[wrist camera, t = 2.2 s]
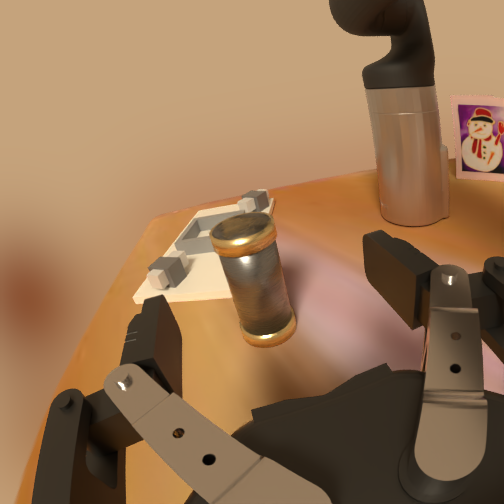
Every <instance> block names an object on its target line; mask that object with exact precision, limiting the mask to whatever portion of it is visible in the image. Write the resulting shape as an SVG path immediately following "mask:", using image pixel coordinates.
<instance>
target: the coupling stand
mask: <svg viewBox="0 0 504 504" xmlns="http://www.w3.org/2000/svg"><path fill="white" fill-rule="evenodd" d="M274 204H275V202H274V198H270V199H269V194H268V190H267V189H259V190H257V191H250V192H248V193H246V194H244V195H243V196H242V200H240V201H238V204H234V205H228V206H222V207H217V208H211V209H206V210H200V211H198V212H197V214H196V215H195V216H194V217H193V219H192V220H191V221H190V222H189V224H188V225H187V226H186V227H185V229H184V230H183V231H182V232H181V234H180V235H179V236H178V238H177V239H176V240H175V241H174V243H173V244H172V245H171V247H170V248H169V249H168V250H167V252H166V253H165V254H164V256H163V257H159V258H158V259H157V260H156V261H155V262H154V263H153V264H151V265H150V266H149V267H148V269H149V271H150V272H149V273H148V274H147V278H146V280H145V281H144V282H143V284H142V285H141V287H140V288H139V289H138V291H137V292H136V293H135V295H134V296H133V299H134V301H135V303H136V304H143V302H144V300H145V299H147V298H151V297H154V296H158V295H161V294H163V295H164V296H165V298H166V300H167V302H181V301H196V300H210V299H223V298H232V295H231V292H230V289H229V286H228V283H227V280H226V277H225V274H224V271H223V268H222V265H221V261H220V258H219V255H218V254H216V253H215V251H214V249H213V246H212V243H211V240H210V236H209V232H210V230H211V229H212V228H213V227H214V226H215V225H216V224H218V223H219V222H221V221H223V220H225V219H227V218H230V217H232V216H235V215H239V214H243V213H249V212H265V213H268V214H270V215H272V211H273V208H274Z"/></svg>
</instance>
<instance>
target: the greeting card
mask: <svg viewBox="0 0 504 504" xmlns="http://www.w3.org/2000/svg"><path fill="white" fill-rule="evenodd" d="M451 104H452V113H453V122H454V136H455V152H456V179H473V180H488V181H501V182H504V98H494V97H493V95H454V96H453V95H451Z"/></svg>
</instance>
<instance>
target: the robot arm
mask: <svg viewBox="0 0 504 504" xmlns="http://www.w3.org/2000/svg"><path fill="white" fill-rule="evenodd" d="M329 5H330V10H331V13H332V15H333V18H334V20H335V21H336V23H337V24H338V25H339V26H340V27H341V28H342V29H343V30H345V31H346V32H348V33H350V34H354V35H358V36H391V44H392V46H391V50H390V52H389V53H388V54H387V55H386V56H385V57H383V58H382V59H380V60H378V61H376V62H374V63H372V64H370V65H368V66H366V67H365V68H364V69H363V71H362V76H363V81H364V86H365V88H366V89H365V92H366V97H367V103H368V109H369V114H370V120H371V126H372V133H373V140H374V148H375V155H376V163H377V172H378V182H379V192H380V204H381V214H382V216H383V217H384V218H385V219H386V220H387V221H390V222H392V223H395V224H398V225H404V226H423V225H428V224H432V223H435V222H437V221H438V220H440V219H442V218H446V217H449V163H448V149H447V147H446V146H445V145H443V144H442V138H441V127H440V119H439V110H438V102H437V95H436V88H435V86H434V85H435V81H434V65H435V56H434V50H433V43H432V38H431V33H430V27H429V22H428V17H427V13H426V8H425V5H424V1H423V0H329ZM363 253H364V267H365V273H366V277H367V279H368V281H369V283H370V284H371V285H372V286H373V287H374V288H375V289H376V290H377V291H378V292H379V294H380V295H381V296H382V297H383V298H384V299H385V300H386V301H387V302H388V303H389V305H390V306H391V307H392V308H393V309H394V310H395V311H396V312H397V314H398V315H399V316H400V317H401V318H402V319H403V320H404V321H405V323H406V324H407V325H408V326H409V327H410V328H411V329H412V330H414V329H416V328H418V327H420V326H422V325H423V326H424V327H425V332H424V342H423V352H422V360H421V368H420V371H417V370H398V371H391V369H390V368H389V366H388V365H387V363H385V364H382V365H380V366H378V367H375V368H373V369H370V370H368V371H366V372H363V373H361V374H358V375H356V376H354V377H353V378H351V379H350V380H348V381H346V382H345V383H343V384H342V385H340V386H339V387H337V388H336V389H334V390H332V391H331V392H329V393H327V394H325V395H322V396H315V397H307V398H299V399H289V400H284V401H281V402H277V403H274V404H270V405H267V406H263V407H260V408H256V409H252V410H251V411H252V416H253V420H252V421H250V422H248V423H246V424H245V425H243V426H242V427H240V428H239V429H238V430H236V431H235V432H234V433H233V434H232V435H231V436H230V435H229V434H227V433H226V432H224V431H223V430H222V429H220V428H219V427H218V426H216V425H215V424H214V423H212V422H211V421H210V420H208V419H207V418H206V417H204V416H203V415H202V414H200V413H199V412H198V411H197V410H195V409H194V408H193V407H192V406H190V405H189V404H188V403H187V402H185V401H184V400H183V399H182V336H181V332H180V329H179V326H178V324H177V322H176V320H175V317H174V315H173V313H172V311H171V309H170V307H169V304H168V302H167V300H166V298H165V296H164V295H163V294H161V295H158V296H154V297H151V298H147V299H145V300H144V302H143V307H142V312H141V314H137V315H135V316H134V318H133V319H132V321H131V322H130V323H129V326H128V330H127V335H126V339H125V342H126V343H124V348H123V352H122V357H121V362H120V366H119V367H117V368H115V369H114V370H112V371H111V372H110V373H109V374H108V376H107V377H106V379H105V381H104V388H103V389H102V390H100V391H97V392H95V393H93V394H91V395H88V396H86V397H85V396H84V395H83V394H82V393H81V391H79V390H78V389H68V390H65V391H63V392H61V393H60V394H59V395H58V396H57V397H56V398H55V399H54V400H53V402H52V404H51V407H50V411H49V414H48V418H47V423H46V427H45V431H44V435H43V440H42V445H41V449H40V454H39V460H38V465H37V471H36V476H35V483H34V489H33V497H32V504H126V479H125V462H126V447H128V446H130V445H132V444H135V443H137V442H139V441H142V440H145V441H146V442H147V443H148V444H149V445H150V447H151V448H152V449H153V450H154V451H155V452H156V453H157V454H158V455H159V456H160V457H161V458H162V459H163V460H164V461H165V462H166V463H167V464H168V465H169V466H170V467H171V468H172V469H173V470H174V471H175V472H176V473H177V474H178V475H179V476H180V477H181V478H182V479H183V480H184V481H185V482H186V483H187V484H188V485H189V486H190V487H191V488H192V489H193V491H192V493H191V494H190V496H189V497H188V499H187V500H186V502H185V503H184V504H504V395H502V394H498V393H494V392H491V391H487V390H484V379H483V355H482V341H481V338H482V340H483V341H484V342H485V343H486V344H487V345H488V346H489V348H490V349H491V350H492V351H493V352H494V353H495V354H496V356H497V357H498V358H499V359H500V360H501V361H502V363H503V364H504V257H491V258H488V259H487V260H486V261H485V263H484V268H483V272H478V273H472V274H467V272H466V271H465V270H464V269H462V268H461V267H458V266H455V265H441V266H439V265H438V264H437V263H435V262H434V261H433V260H431V259H430V258H429V257H427V256H426V255H425V254H423V253H420V251H419V250H418V249H416V248H414V246H412V245H411V244H410V243H408V242H407V241H404V240H401V239H398V238H392V237H391V236H390V235H388V234H387V233H385V232H384V231H383V230H378V231H374V232H371V233H368V234H365V235H364V236H363ZM86 450H87V451H86Z"/></svg>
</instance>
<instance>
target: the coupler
mask: <svg viewBox="0 0 504 504" xmlns="http://www.w3.org/2000/svg"><path fill="white" fill-rule="evenodd" d="M209 236H210V240H211V243H212V246H213V249H214V251H215V253H216V254H218V255H219V258H220V261H221V265H222V268H223V271H224V274H225V277H226V280H227V283H228V286H229V289H230V292H231V295H232V298H233V301H234V304H235V307H236V309H237V312H238V315H239V318H240V328H241V331H242V334H243V337H244V339H245V341H246V342H247V343H249V344H250V345H252V346H255V347H260V348H268V347H273V346H277V345H279V344H282V343H284V342H285V341H287V340H288V339H289V338H290V337H291V336H292V335H293V334H294V332H295V330H296V320H295V315H294V311H293V309H292V307H291V306H290V303H289V298H288V293H287V289H286V284H285V280H284V275H283V271H282V266H281V262H280V257H279V253H278V248H277V244H276V240H275V239H276V237H277V232H276V227H275V223H274V219H273V216H272V215H270V214H268V213H265V212H249V213H243V214H239V215H235V216H232V217H230V218H227V219H225V220H223V221H221V222H219V223H218V224H216V225H215V226H214V227H213V228H212V229H211V230H210V232H209Z"/></svg>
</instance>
